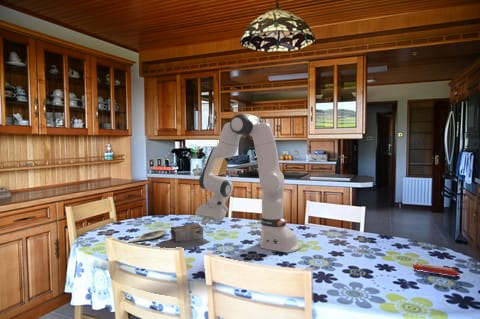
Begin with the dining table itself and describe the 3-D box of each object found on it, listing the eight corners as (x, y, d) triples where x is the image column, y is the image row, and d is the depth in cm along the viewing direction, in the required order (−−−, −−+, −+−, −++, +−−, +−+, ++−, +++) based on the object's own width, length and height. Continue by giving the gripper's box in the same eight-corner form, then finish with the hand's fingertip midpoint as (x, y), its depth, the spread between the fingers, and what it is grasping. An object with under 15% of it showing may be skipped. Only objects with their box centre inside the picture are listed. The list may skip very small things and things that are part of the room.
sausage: (412, 271, 132) (413, 264, 131) (412, 268, 135) (413, 261, 135) (459, 279, 124) (460, 272, 124) (458, 276, 127) (458, 268, 127)
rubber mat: (210, 242, 171) (210, 241, 171) (176, 252, 155) (176, 252, 155) (188, 235, 183) (188, 234, 183) (155, 245, 167) (155, 244, 167)
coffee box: (198, 234, 184) (170, 237, 178) (198, 223, 184) (170, 226, 177) (203, 238, 176) (174, 242, 169) (203, 227, 175) (174, 230, 169)
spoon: (113, 255, 158) (113, 251, 157) (103, 250, 165) (102, 246, 164) (171, 234, 184) (170, 231, 184) (160, 231, 191) (159, 228, 191)
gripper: (200, 199, 191) (188, 218, 184) (225, 203, 177) (212, 224, 171) (206, 205, 194) (194, 224, 188) (230, 210, 181) (218, 230, 174)
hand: (203, 224), depth 179 cm, fingers closed
